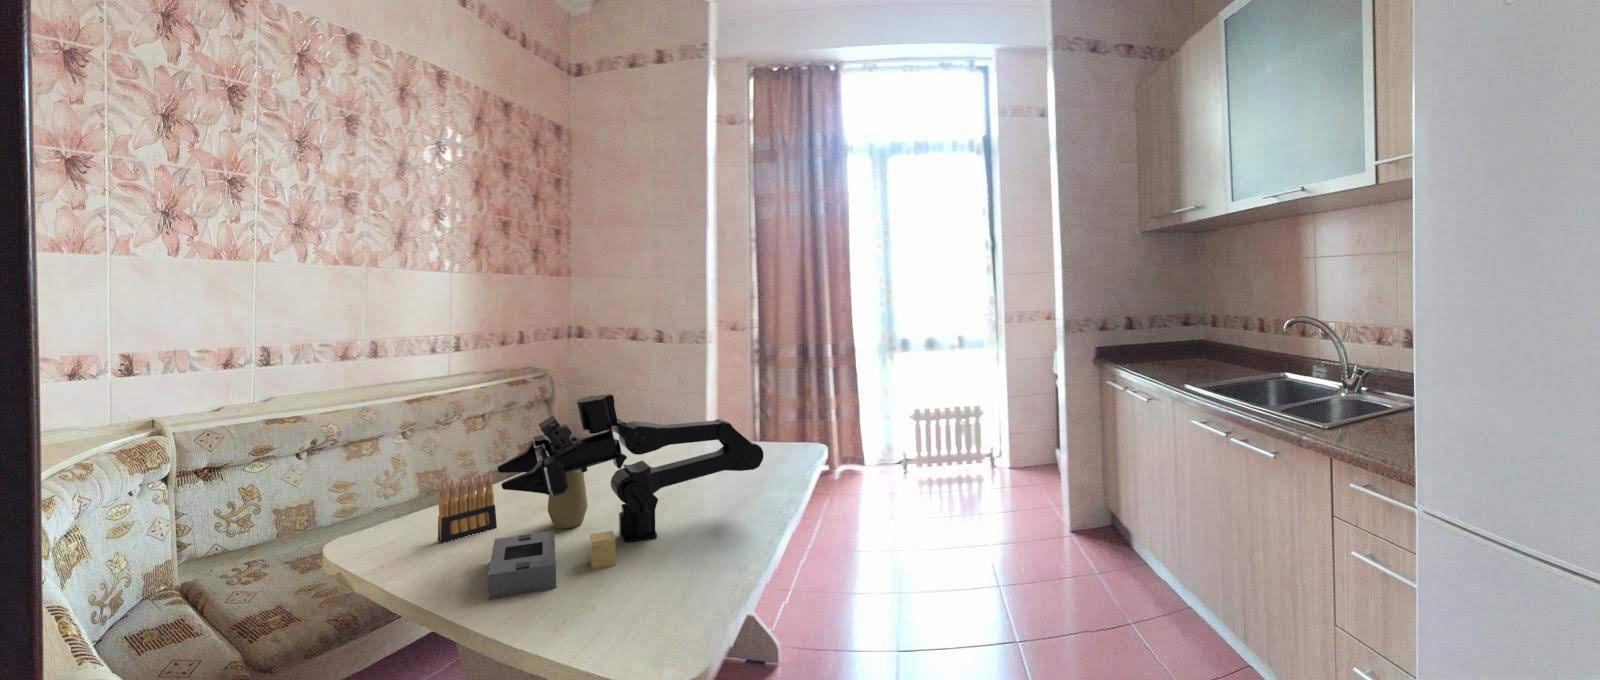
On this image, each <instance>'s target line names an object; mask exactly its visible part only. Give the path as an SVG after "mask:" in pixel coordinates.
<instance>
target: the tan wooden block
mask: <svg viewBox="0 0 1600 680" xmlns="http://www.w3.org/2000/svg"><path fill="white" fill-rule="evenodd" d="M589 551H590V553H589V554H590V556H589V558H590V566H591V569H592V570H596V569H597V570H598V569H603V568H609V567H615V566H616V538H615V534H614V531H613V530H610V531H604V532H596V533H590V534H589Z"/></svg>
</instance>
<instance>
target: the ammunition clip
mask: <svg viewBox="0 0 1600 680" xmlns="http://www.w3.org/2000/svg"><path fill="white" fill-rule="evenodd" d="M476 482H477V483H476V489H475V481H474V478H473V476H472V475H471V476H469V479H468V481H467V491H466V483H465V480H464V478H462V477H460V480H459V483H458V497H457V486H456V483H455V481H454V479H451V480H450V482H449V483H450V484H449V488H448V492H449V495H448V494H447V493H448V492H447V487H446V484H445V482H444V481H442V482H441V484H440V487H439V501H438V516H437V517H438V521H437V522H438V523H437V542H439V543H440V544H442V543H443V544H445V543H444V542H446V543H449V542H448V541H450V542H452V541H451V540H453V541H456V540H455V539H457V540H459V539H458V538H460V539H463V538H462V537H464V538H466V537H465V536H468V535H471V536H473V535H472V534H475V535H477V534H476V533H478V534H481V533H480V532H482V533H485V532H488V531H487V530H489V531H491V529H492V530H496V529H497V528H498V526H497V523H498V522H497V515H496V514H497V513H496V504H495V492H494V487H493V486H494V485H493V478H492V474H491V472H487V475H486V480H485V485H484V480H483V476H482V475H481V473H480V474H479V475H478V476H477V481H476ZM484 486H485V488H484ZM495 528H496V529H495ZM484 531H485V532H484ZM468 537H469V536H468Z"/></svg>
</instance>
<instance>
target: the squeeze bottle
mask: <svg viewBox="0 0 1600 680" xmlns="http://www.w3.org/2000/svg"><path fill="white" fill-rule="evenodd" d="M584 473H585V472H583V473H582V472H581V470H577V471H574V472H571V473H568V474H566V479H567V484H568V488H567V490H566V491H565V493H563V494H560V495H557V496H554V497H553V495H552V493H551V490H549V493H550V495H548V499H547V513H548V515H549V517H550V520H551V523H552V525H553V527H554V528H556V529H570V528H571V529H572V528H574V527H578V526H580V525H582V524H583V522H584V520H585V516H586V513H587V510H588V507H589V505H588V497H587V491H586V481H585V474H584Z"/></svg>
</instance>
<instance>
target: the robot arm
mask: <svg viewBox="0 0 1600 680" xmlns="http://www.w3.org/2000/svg"><path fill="white" fill-rule="evenodd" d="M576 406H577V411H578V414H579V419H580V425H581V429H582V430H584V431H588V434H590V436H586V437H581V438H579V437H578V436H576V435H573V436H571V435H572V434H573V432H572V431H571V429H570V428H569V426H568V425H567V424H562V425H561V424H560V422H559V421H558V420H557V418H556V417H555V415H554V414H553V415H551V416H549V417H548V418H547V419H544V420H542V421H541V422H540V423H539V424H538V426H539V427H540V431H541V432H542V434H541V435H537V436H534V437H532V438H533V440H532V439H531V440H529V443H528V446H527V447H526V449H524V451H523V452H521V453H519V454H518V455H515V456H514V457H513V458H511V459H509V460H507V461H505V462H503V463H502V464H500V465H498V466H497V471H498V473H507V474H508V473H522V474H518V475H517V476H514V477H512V478H509V479H507V480H506V481H503V482H502V483H501V488H502V490H506V491H519V492H529V493H537V494H544V495H547V496H549V495H550V493H549V490H551V493H552V495H553V497H554V496H557V495H560V494H563V493H565V491H566V490H567V488H568V484H567V479H566V474H568V473H571V472H574V471H577V470H581V472H582V473H583V472H584V473H586V472H588V468H591V467H593V466H597V465H600V464H602V463H607V462H609V461H612V462H613V465H614V466H615V467H616V468H617V470H616V471H615V472H614V474H613V475H612V476H611V479H610V488H611V490H612V491H613V493H614V494H615V495H616V497H617V498H618V499H619V500H620V501H621V502H622V504H621V512H618V532H619V536H620V537H622V540H623V542H625V543H628V542H629V543H630V542H635V541H641V540H648V539H654V538H658V533H657V531H656V508H657V504H658V502H659V498H658V497H657V496H656V495H655V493H657V492H658V491H659V490H661V489H663V488H666V487H670V486H673V485H677V484H681V483H684V482H688V481H691V480H694V479H698V478H701V477H706V476H709V475H713V474H717V473H720V472H724V471H732V472H735V471H736V472H741V471H753V470H756V469H758V468H759V467H760V466H761V464H762V462H763V459H764V451H763V448H762V447H761V446H760V445H758V444H757V443H755V442H752V441H751V440H749V439H747V438H746V437H745V436H744V435H742V434H741V433H740V432H739V431H737V430H736V429H735V427H734V426H733V425H732V424H731V423H730V422H728V421H726V420H724V419H720V418H719V419H717V418H716V419H714V420H707V421H706V420H705V421H695V422H685V423H684V422H683V423H682V422H681V423H673V424H672V423H671V424H660V423H654V422H647V421H629V422H626V421H625V422H624V421H623V420H621V419H620V418H618V417H617V412H616V407H615V398H614V394H612V393H608V394H599V395H598V394H597V395H588V396H584V397H581V398H579V399H577V400H576ZM613 431H614V432H615V433H616V434H617V435H618V438H619V439H616V438H615V437H614V434H613ZM591 434H592V435H591ZM708 441H710V442H711V441H718V442H719V443H720V444H721V445H722V447H720V448H719V449H718V450H715V451H712V452H709V453H706V454H705V453H704V454H701V455H697V456H694V457H689V458H685V459H682V460H678V461H674V462H671V463H666V464H662V465H658V466H653V467H652V466H650V465H649V464H648V463H647V462H645V461H644V460H640V461H637V462H634V463H631V464H624V463H625V461H626V460H627V458H628V456H627V455H626V454H625V453H622V448H621V446H622V447H624V448H625V449H626V450H628V451H629V452H630V453H631V454H633V455H638V456H640V455H641V456H642V455H644V454H648V453H651V452H655V451H657V450H660V449H662V448H663V447H664V448H665V447H667V446H670V445H681V444H688V443H689V444H690V443H699V442H708Z"/></svg>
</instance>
